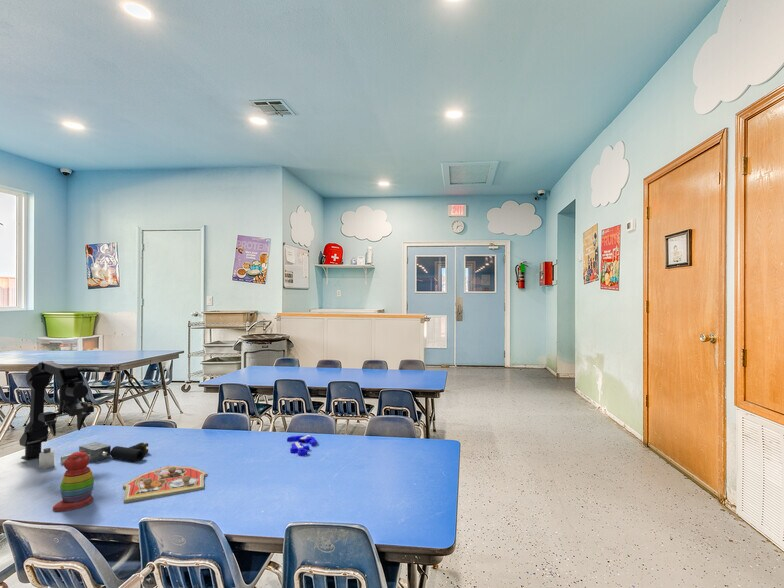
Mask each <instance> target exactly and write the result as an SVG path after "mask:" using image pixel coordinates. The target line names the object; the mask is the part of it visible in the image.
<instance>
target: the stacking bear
mask: <svg viewBox="0 0 784 588" xmlns="http://www.w3.org/2000/svg"><path fill="white" fill-rule="evenodd" d="M70 454H71V455H70V456H69V457H68V458H67V459H66V460H65V461H64V462H63V464H62V465H63V467H64V468H65V470H66V471H64V473H63V477H62V479H61V482H60V495H61V501H60V500H59V501H58V502H56V503H55V504H54V505H53V506H52V511H54V512H64V511H71V510H75V509H80V508H83V507H85V506H87V505H89V504H91V503H92V502H93V501H94V499H93V495H92V493H93V489H94V484H95V483H94V482H95V481H94V478H95V477H94V476H93V475H94V473H93V471H92V469H91V468H90V467H89V466H88V465H89V463H90V462H89V455H88V454H87V453H85V451H84V450H81V452H79V451H75V452H73V454H72V453H70Z"/></svg>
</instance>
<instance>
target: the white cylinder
mask: <svg viewBox="0 0 784 588" xmlns="http://www.w3.org/2000/svg"><path fill="white" fill-rule="evenodd" d="M42 449H43V451H41V453H39V457H38V460H39V461H38V462H39V463H38V468H39V469H40V468H41V469H44V468H45V469H49V467H50V468H52V467H54V466H55V450H52V449H51V447H47V448H42ZM41 469H40V470H41Z"/></svg>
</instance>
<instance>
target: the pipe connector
mask: <svg viewBox="0 0 784 588" xmlns="http://www.w3.org/2000/svg"><path fill="white" fill-rule="evenodd" d="M148 447H149V443H147V442H146V443H144V442H139V443H137V444H135V445H131V446H129V447H124V446H119V445H116V446H114V447H112V449H111V452H110V458H113V459H119V460H125V461H130V462H137V463H138V462H141V461H143V460H144V458H145V456H146V455H145V454H147V453H149V448H148Z"/></svg>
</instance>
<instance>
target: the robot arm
mask: <svg viewBox="0 0 784 588" xmlns="http://www.w3.org/2000/svg"><path fill="white" fill-rule="evenodd" d="M53 376H55V379H56V380H57V381H58V383H57V386H59V389H58V390H59V391H58V392H59V393H58V398H57V402H58V408H57V412H53V411H46V412H44V411H45V395H46V393H45V390H46V388H47V387H48V386H49V384H50V382H51V378H52V377H53ZM25 381H26V385H27V386H28V387H29V389H30V407H29V422H28V423H27V424H26V426H25V427H24V432H23V434H22V436H21V437H20V439H19V445H20V447H21V446H22V447H24V453H25V454H24V455H22V456H21V457H20V458H21V459H24V460H26V461H30V460H32V459H36V458H37V459H39V453H41V452H42V443H45V442H48V439H49V434H50V433H49V432H51V435H52V437H56V435H57V434H56V433H57V430H56V429H57V428H56V427H57V425H56V423H57V422H58V421H57V418H58V417H63V416H69V417H75V416H76V425H77V426H76V427H77V431H80V430H81V429H82V426H83V424H84V422H85V420H86V418H87V417H88V416H90V415H91V414H92V413H94V412H95V407H94V405H92V404H88V402H87V401H83V402H82V401H81V402H79V400H81V399H83V398H85V397H86V396H88V393H89V389H88V387H87V385H84V376H83V373H82V372H81V370H80V368H79V367H78V366H76V365H67V366H66V365H62V364H60V363H57V362H54V361H53V360H46V361H45V360H43V361H39V362H38V363H37V364H36V366H34V367H31V368H30V369H29V370H28V372H26V375H25Z"/></svg>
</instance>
